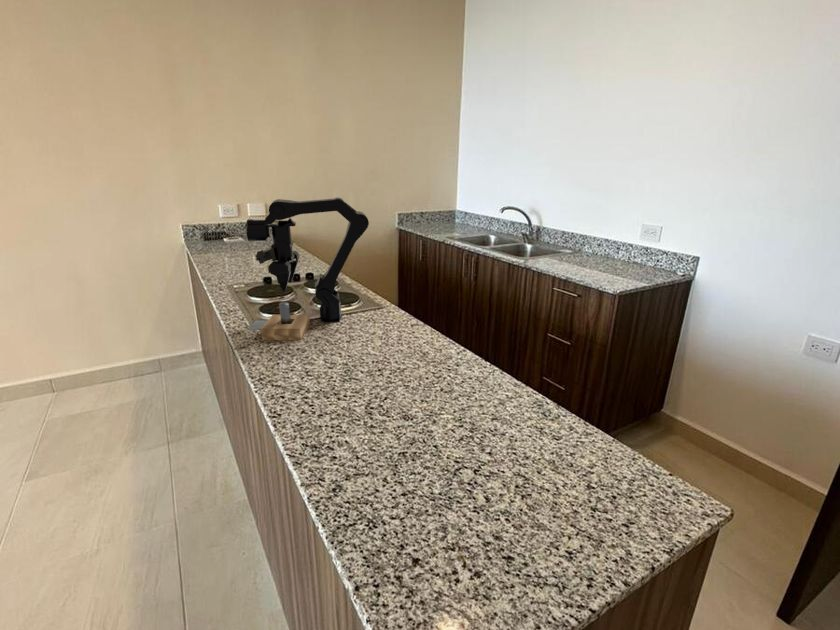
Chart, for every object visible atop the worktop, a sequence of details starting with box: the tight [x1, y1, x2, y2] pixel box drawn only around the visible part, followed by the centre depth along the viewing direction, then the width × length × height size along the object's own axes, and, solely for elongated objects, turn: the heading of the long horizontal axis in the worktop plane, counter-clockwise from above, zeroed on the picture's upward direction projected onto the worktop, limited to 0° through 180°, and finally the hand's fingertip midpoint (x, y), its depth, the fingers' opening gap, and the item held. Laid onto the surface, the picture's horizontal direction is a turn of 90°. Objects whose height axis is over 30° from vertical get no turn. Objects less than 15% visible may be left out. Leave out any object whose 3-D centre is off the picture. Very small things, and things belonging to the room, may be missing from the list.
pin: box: [278, 301, 291, 324], centre depth 147 cm, size 3×3×10 cm
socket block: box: [260, 314, 311, 341], centre depth 148 cm, size 12×12×4 cm
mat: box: [247, 319, 268, 331], centre depth 154 cm, size 7×8×1 cm
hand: (286, 286), depth 154 cm, fingers open, 9 cm apart
